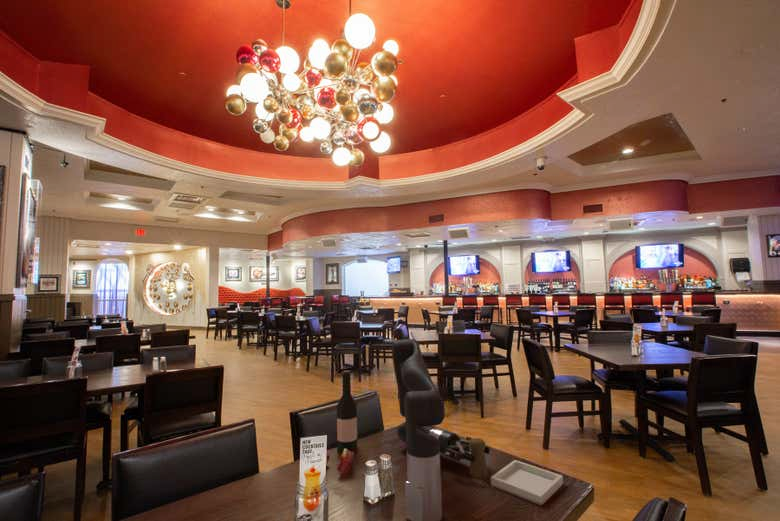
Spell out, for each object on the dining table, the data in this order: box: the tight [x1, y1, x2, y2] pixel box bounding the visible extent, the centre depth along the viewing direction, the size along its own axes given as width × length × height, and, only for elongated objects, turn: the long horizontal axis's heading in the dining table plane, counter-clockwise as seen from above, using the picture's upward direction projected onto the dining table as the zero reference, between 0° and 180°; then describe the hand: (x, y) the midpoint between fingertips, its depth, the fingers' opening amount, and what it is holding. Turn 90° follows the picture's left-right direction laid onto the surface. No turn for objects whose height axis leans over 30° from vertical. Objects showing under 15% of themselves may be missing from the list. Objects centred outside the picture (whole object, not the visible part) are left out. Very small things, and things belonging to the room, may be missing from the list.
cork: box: [468, 437, 489, 479], centre depth 124 cm, size 6×6×11 cm
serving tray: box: [490, 459, 564, 507], centre depth 116 cm, size 16×16×2 cm
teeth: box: [327, 448, 355, 479], centre depth 128 cm, size 10×8×15 cm
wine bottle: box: [336, 370, 358, 454], centre depth 146 cm, size 8×8×30 cm
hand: (482, 454), depth 123 cm, fingers open, 8 cm apart
